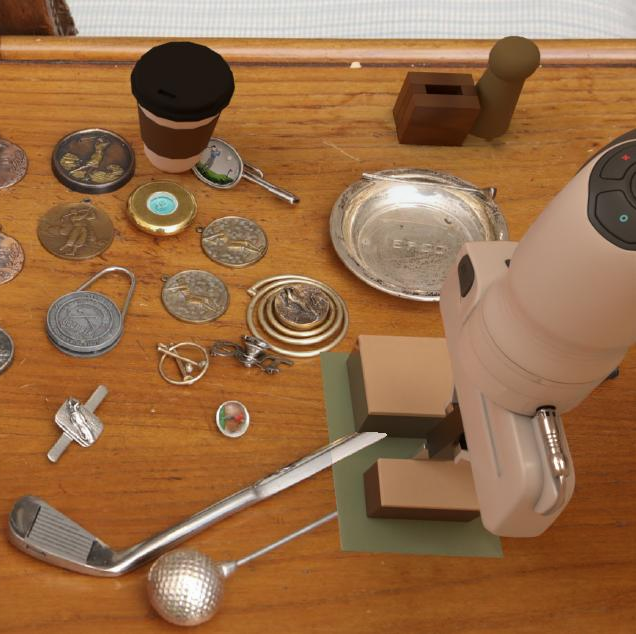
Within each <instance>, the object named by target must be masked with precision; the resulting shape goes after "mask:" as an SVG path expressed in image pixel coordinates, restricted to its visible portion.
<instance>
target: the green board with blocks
mask: <svg viewBox="0 0 636 634" xmlns="http://www.w3.org/2000/svg"><path fill="white" fill-rule="evenodd" d="M319 359H320V368H321V378H322V387H323V388H322V389H323V396H324V406H325V414H326V423H327V424H326V425H327V431H328V441H329V444H330V443H333V442H334V441H336V440H338V439H340V438H343V437H345V436H347V435H350V434H351V433H354V432H357V433H362V432H378V433H386V434H387V436H386V437H385V438H383V439H381V440H380V441H378V442H376V443H374V444H371V445H369V446H367V447H366V448H364V449H362V450H360V451H358V452H356V453H354V454H352V455H350V456H348V457H346V458H344V459H343V460H341V461H339V462H337V463H336V464H333V465H332V464H331V467H332V468H331V469H332V476H333V477H332V479H333V487H334V496H335V505H336V511H337V512H336V513H337V514H336V515H337V523H338V531H339V540H340V548H341V552H349V553H350V552H351V553H352V552H353V553H375V554H395V555H396V554H397V555H398V554H399V555H423V556H447V557H464V558H465V557H467V558H468V557H469V558H493V559H504V558H505V555H504V551H503V546H502V541H501V536H497V535H494V534H492V533H491V532H489V531H488V530H487V529H486V528H485V527H484V526H483V523H482V519H481V516H479V517H477V518H475V519H474V520H472V521H470V522H453V521H430V520H408V519H385V518H367V514H366V503H365V491H364V479H363V473H364V472H366V471H367V470H368V469H369V468H370V467H371V466H372V465H373V464H374V463H375V462H376V461H377V460H378V459H379V458H384V459H406V458H407V457H409V456H410V455H411V454H412V453H413V452H415V451H416V450H417V449H418V448H419V447H420V446H422V445H423V444H424V443H426V444H427V437H426V433H427V432H428V431H430V430H431V429H432V428H433V427H434V426H435V425H436V424H438V423H439V422H440V421H441V420H442V419H443V418H444V417H446V413H445V407H444V403H445V402H446V401H447V399H448V398H449V396H450V390H451V384H452V378H453V372H452V367H451V362H450V357H449V352H448V347H447V342H446V337H431V336H429V337H428V336H408V335H407V336H405V335H384V334H383V335H378V334H359V335H358V337H357V339H356V341H355V343H354V345H353V347H352V349H351V350H350V352H343V351H342V352H339V351H319ZM448 461H454V460H448ZM454 462H455V461H454Z"/></svg>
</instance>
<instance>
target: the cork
mask: <svg viewBox="0 0 636 634" xmlns="http://www.w3.org/2000/svg"><path fill="white" fill-rule="evenodd" d="M488 54H489V55H488V61H487V63H488V66H487V68H486V69H485V70H484V72H483V73H482V75H480V77H479V78H478V80H477V82H476V83H475V88H476V92H477V96H478V100H479V104H480V107H481V109H480V111H479V113H478V115H477V117H476V119H475V121H474V123H473V125H472V127H471V129H470V130H469V132H468V134H470V135H473V136H475V137H477V138H482V139H494V138H499V137H501V136H503V135H504V134H506V133H507V131H508V129H509V127H510V125H511V121H512V119H513V117H514V113H515V111H516V107H517V105H518V102H519V100H520V96H521V93H522V90H523V88H524V85H525V83H526V80H527V79H529V78H530V77H532V75H533V74H534V73H535V72H536V71H537V69H538V68H539V66H540V63H541V56H542V55H541V51H540V49H539V46H538V45H536V43H535V42H533V41H532V40H531V39H529V38H526V37H524V36H519V35H508V36H504V37H503V38H501V39H499V40H498V41H496V43H495V44H493V46H492V47H491V49H490V51H489V53H488Z"/></svg>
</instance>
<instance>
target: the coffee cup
mask: <svg viewBox="0 0 636 634" xmlns="http://www.w3.org/2000/svg"><path fill="white" fill-rule="evenodd" d="M129 80H130V90H131V94H132V96H133V98H134V99H135V100H136V106H137V114H138V122H139V129H140V137H141V138H140V139H141V141H142V142H143V149H144V154H145V156H146V158H147V159H148V160H149V162H150V163H151V165H152V166H153V167H155V168H157V169H158V170H159V171H162V172H166V173H169V174H175V173H177V174H181V173H183V172H184V173H185V172H186V171H187V172H188V171H189V170H191V169H192V168H193V167H194V166H196V165H197V164H198V163H199V162H200V161H201V160H202V158H203V157H202V156H203V154H204V152H205V150H206V149H207V148H208V147H209V144H210V141H211V138H212V137H213V134H214V131H215V129H216V126H217V124H218V122H219V119H220V117H221V114H222V112H223V111H224V110H225V109H226V108H227V107H228V106H229V105H230V103H231V100H232V99H233V96H234V94H235V90H236V84H235V83H236V82H235V79H234V73H233V71H232V70H231V66H230V65H229V64H228V62H227V61H226V59H224V57H223V55H222V54H221V53H218V52H216V50H213V49H212V48H210V47H208V46H206V45H205V44H204V45H203V44H200V43H196V42H193V41H189V40H188V41H186V40H184V41H168V42H164V43H161V44H158V45H155V46H152V47H151V48H150V49H149V50H147V51H146V52H145V53H143V54H142V55H141V56H140V58H139V59H138V60H137V61H136V62H135V64H134V66H133V69H132V70H131V73H130V78H129ZM196 163H197V164H196Z"/></svg>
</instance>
